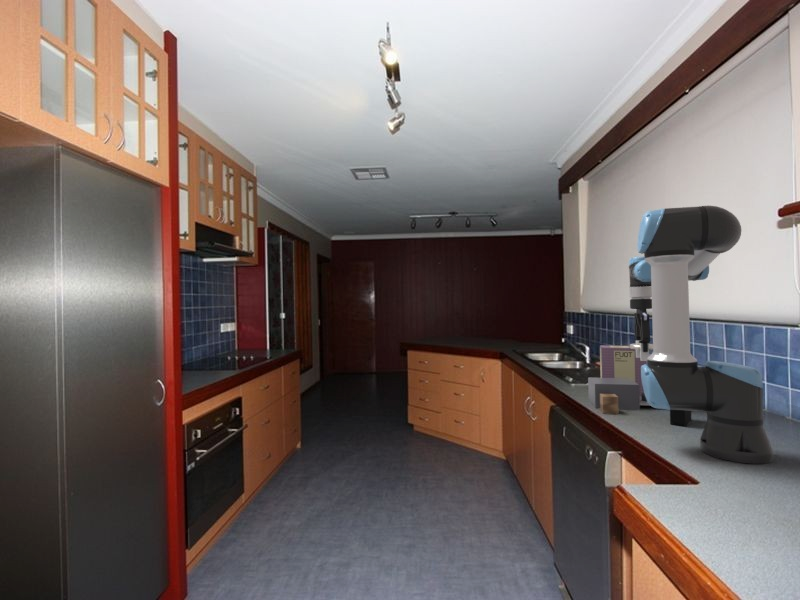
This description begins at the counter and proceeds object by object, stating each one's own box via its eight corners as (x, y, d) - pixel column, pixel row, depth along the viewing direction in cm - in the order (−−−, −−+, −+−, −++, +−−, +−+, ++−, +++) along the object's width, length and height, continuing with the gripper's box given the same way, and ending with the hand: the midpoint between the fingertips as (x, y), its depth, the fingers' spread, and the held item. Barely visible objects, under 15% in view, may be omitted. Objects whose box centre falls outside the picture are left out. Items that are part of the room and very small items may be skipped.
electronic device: (691, 420, 146) (691, 390, 146) (685, 427, 138) (684, 395, 138) (677, 418, 148) (676, 388, 148) (669, 424, 141) (669, 393, 141)
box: (643, 392, 189) (642, 346, 189) (647, 397, 180) (646, 348, 180) (600, 390, 195) (599, 345, 195) (602, 394, 186) (601, 347, 186)
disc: (659, 349, 163) (659, 344, 163) (643, 350, 160) (643, 346, 160) (640, 347, 171) (640, 343, 171) (625, 348, 168) (624, 344, 168)
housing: (595, 408, 164) (594, 383, 164) (588, 399, 178) (588, 377, 178) (639, 409, 161) (639, 384, 161) (629, 401, 174) (628, 378, 174)
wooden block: (603, 413, 156) (602, 396, 156) (600, 410, 161) (599, 393, 161) (618, 414, 155) (618, 397, 155) (615, 410, 160) (614, 394, 160)
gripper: (659, 298, 154) (660, 363, 154) (646, 297, 174) (647, 355, 174) (635, 298, 157) (636, 363, 157) (625, 298, 176) (626, 355, 176)
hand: (642, 359), depth 165 cm, fingers closed on disc, 8 cm apart
